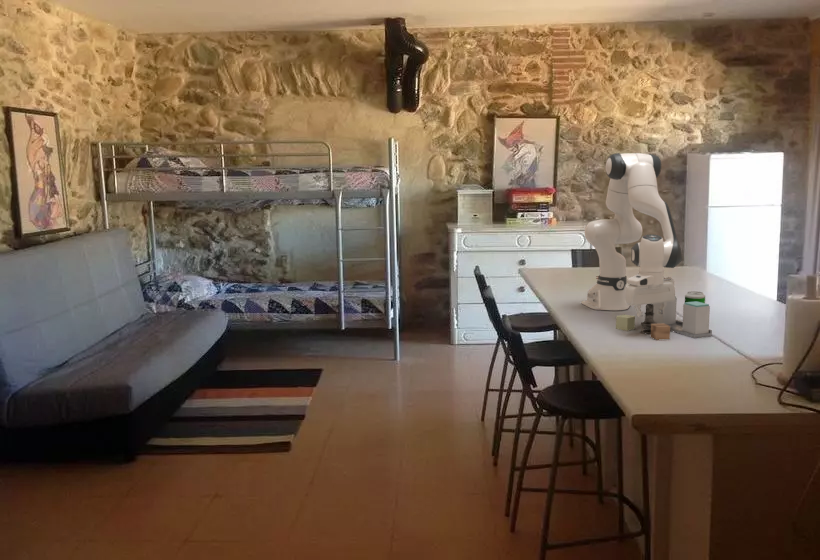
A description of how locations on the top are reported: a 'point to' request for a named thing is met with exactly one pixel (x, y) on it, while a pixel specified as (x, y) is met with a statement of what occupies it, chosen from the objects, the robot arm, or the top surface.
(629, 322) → the block olive
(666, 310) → the block
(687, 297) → the soda can
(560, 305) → the top surface
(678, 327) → the rail
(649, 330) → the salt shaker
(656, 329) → the block walnut
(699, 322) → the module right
